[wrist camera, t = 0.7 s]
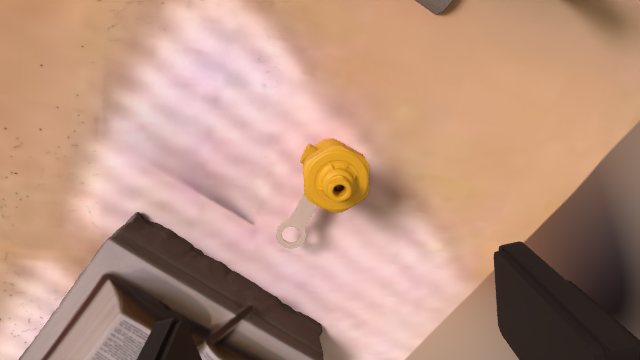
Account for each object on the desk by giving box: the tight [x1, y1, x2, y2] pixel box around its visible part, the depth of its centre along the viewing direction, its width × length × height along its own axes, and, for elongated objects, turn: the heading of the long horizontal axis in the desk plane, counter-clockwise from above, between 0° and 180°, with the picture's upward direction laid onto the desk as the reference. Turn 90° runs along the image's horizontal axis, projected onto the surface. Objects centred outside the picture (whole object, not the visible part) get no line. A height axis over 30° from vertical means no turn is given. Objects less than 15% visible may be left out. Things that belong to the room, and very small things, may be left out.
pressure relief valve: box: [276, 139, 369, 248], centre depth 32 cm, size 6×12×10 cm, turn 152°
